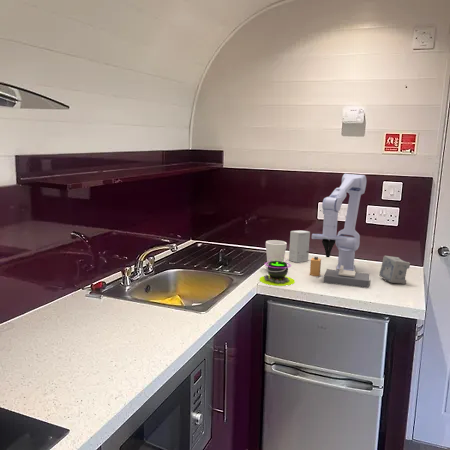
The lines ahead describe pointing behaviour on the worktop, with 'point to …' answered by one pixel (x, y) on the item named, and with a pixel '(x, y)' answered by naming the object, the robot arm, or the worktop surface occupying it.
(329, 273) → the socket
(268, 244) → the foam cup
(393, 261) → the grey rough block
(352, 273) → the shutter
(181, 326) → the worktop surface
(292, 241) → the skincare box
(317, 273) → the orange bottle
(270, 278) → the toy cauldron
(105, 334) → the worktop surface
